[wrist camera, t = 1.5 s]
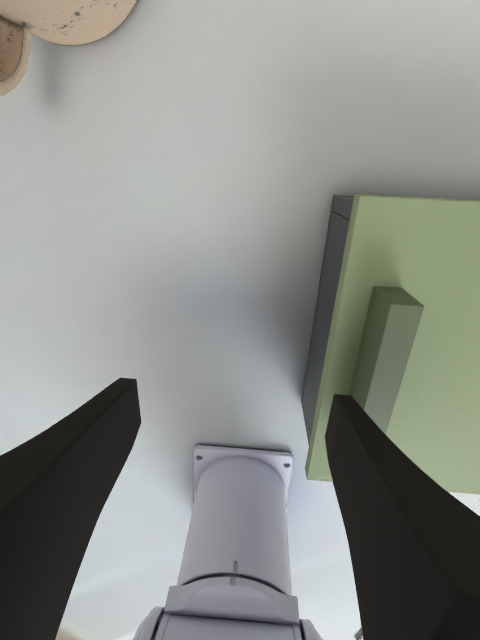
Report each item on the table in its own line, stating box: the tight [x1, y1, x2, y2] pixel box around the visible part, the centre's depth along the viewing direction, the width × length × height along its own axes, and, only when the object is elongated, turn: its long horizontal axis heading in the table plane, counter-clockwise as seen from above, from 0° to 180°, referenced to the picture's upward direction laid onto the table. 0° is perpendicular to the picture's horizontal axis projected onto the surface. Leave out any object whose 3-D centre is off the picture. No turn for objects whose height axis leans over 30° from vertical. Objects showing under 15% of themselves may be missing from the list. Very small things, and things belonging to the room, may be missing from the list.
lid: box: [305, 194, 480, 494], centre depth 14 cm, size 15×13×3 cm
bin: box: [301, 195, 354, 444], centre depth 18 cm, size 14×12×6 cm
